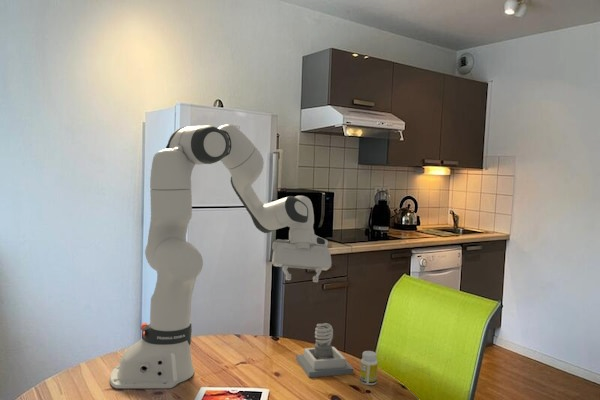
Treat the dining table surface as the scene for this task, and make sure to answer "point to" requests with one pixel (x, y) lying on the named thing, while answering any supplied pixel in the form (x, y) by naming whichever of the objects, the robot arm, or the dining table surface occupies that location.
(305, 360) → the bulb socket
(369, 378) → the supplement bottle
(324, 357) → the light bulb
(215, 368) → the dining table surface
